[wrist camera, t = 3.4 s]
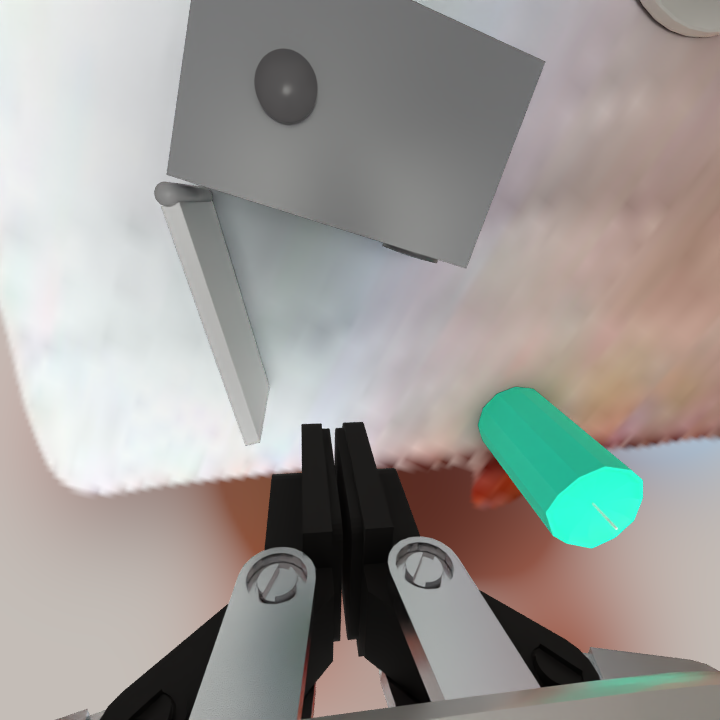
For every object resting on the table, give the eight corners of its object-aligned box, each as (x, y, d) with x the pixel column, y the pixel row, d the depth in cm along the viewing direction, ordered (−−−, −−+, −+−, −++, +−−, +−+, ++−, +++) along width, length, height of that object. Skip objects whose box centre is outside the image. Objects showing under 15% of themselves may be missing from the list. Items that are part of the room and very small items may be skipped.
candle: (502, 375, 32) (608, 469, 21) (562, 401, 34) (689, 500, 22) (464, 438, 34) (543, 556, 23) (522, 459, 35) (624, 579, 24)
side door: (271, 387, 29) (261, 442, 23) (250, 391, 29) (234, 448, 23) (209, 184, 24) (174, 179, 18) (184, 190, 24) (138, 186, 18)
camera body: (473, 102, 25) (556, 55, 17) (420, 255, 28) (469, 278, 20) (237, 4, 22) (198, -111, 14) (206, 188, 25) (159, 182, 17)
